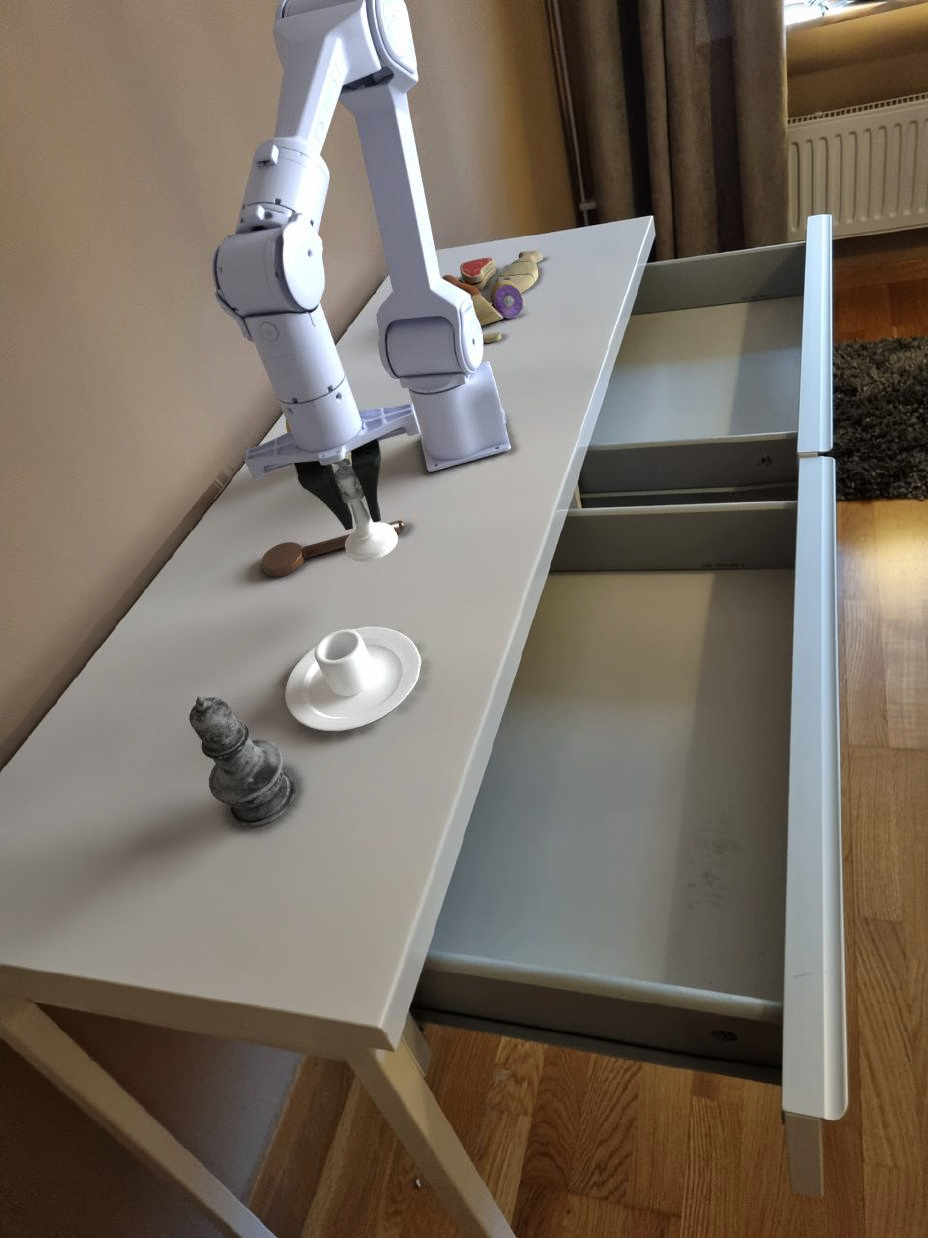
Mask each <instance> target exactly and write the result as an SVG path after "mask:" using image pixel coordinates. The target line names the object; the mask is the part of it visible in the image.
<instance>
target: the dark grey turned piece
mask: <svg viewBox="0 0 928 1238" xmlns="http://www.w3.org/2000/svg"><path fill="white" fill-rule="evenodd" d="M188 720H189V723H190V726H191V727H192V729H193V730H194V732H195V733H196V735H197V736H198V738H199V739H200V741H201V746H200V749H201V751H202V754H203V755H204V756H205V757H207V758H209V759H211V760H212V761H213V762H214V765H213V766H212V768H211V770H210V772H209V773H210V774H209V777H208V788H209V791H210V794H211V795H212V796H213V797H214V798H215V799H216V800H217V801H219V802H221V803H223V804H226V805H228V806H229V807H230V813H231V815H232V818H233V819H234V820H235V821H236V822H237V823H238V824H240V825H242V826H244V827H249V828H256V827H262V826H265V825H268V824H270V823H272V822H274V821H276V820H278V819H279V818H280V817H281V816H282V815H284V814H285V813H286V811H287V810H288V809H289V808H290V806H291V805H292V803H293V801H294V799H295V794H296V783H295V781H294V779H293V778H292V776H291V775H290V773H288V772H286V771H284V758H283V757H284V756H283V754H282V751H281V749H280V748H279V746H277V745H276V744H275V743H274V742H271V741H269V740H264V739H251V737H250V729H249V726H248V725H247V724H246V723H245V721H242V720H240V719H237V717H236V715H235V714H234V712H233V710H232V709H231V707H230V706H229V704H228V703H227V702H226V701H225V700H224V699H223V698H222V697H221V698H220V697H217V696H209V697H205V696H197V698H196V701H195V704H194V705H193V707H192V708H191V709H190V712H189V716H188Z"/></svg>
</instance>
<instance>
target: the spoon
mask: <svg viewBox="0 0 928 1238" xmlns="http://www.w3.org/2000/svg"><path fill="white" fill-rule="evenodd" d="M386 524H389V525H391V526H392V527H393V528H394V530H395V532H396V533H397V534H399V533H402V532H404V531H405V529H406V523H405V522H404V521H403V520H400V519H399V520H395V521H392V522H388V523H386ZM350 534H351V533H348V534H345V535H344V534H343V535H341V536H337V537H334V538H329V539H326V540H322V541H319V542H315V543H312V544H308V545H305V546H303V547H302V545H301V544H299V543H297V542H293V541H286V542H282V543H279V544H276V545H274V546H273V547H271V548H270V549H268V550H267V551H266V552H265V553H264V555H263V556H262V558H261V566H262V568H263V570H264V572H265V573H266V574H267V575H268V576H271V577H274V578H281V577H285V576H288V575H290V574H293V573H294V572H296V571H297V570H298V569H300V568H301V567H302V566H303V564H304V563H305V560H306V559H308V558H312V557H316V556H319V555H323V554H326V553H330V552H334V551H337V550H341V549H344V548H345V542H346V539H347V538H348V536H349V535H350Z"/></svg>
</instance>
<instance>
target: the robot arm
mask: <svg viewBox="0 0 928 1238" xmlns="http://www.w3.org/2000/svg"><path fill="white" fill-rule="evenodd" d="M409 17H410V16H409V12H408V8H407V5H406V3H405V1H404V0H279V2H278V4H277V5H276V10H275V14H274V21H273V28H272V36H273V40H274V45H275V49H276V52H277V55H278V58H279V62H280V64H281V66H282V69H283V71H282V76H281V77H282V78H281V83H280V91H279V98H278V105H277V111H276V112H277V113H276V120H275V127H274V135H273V138H270V139H267V140H265V141H263V142H261V143H260V144H259V145H258V146H257V148H255V151H254V154H253V158H252V163H251V166H250V170H249V175H248V178H247V182H246V187H245V189H244V190H245V191H244V194H243V198H242V202H241V207H240V211H239V215H238V218H237V219H238V220H237V223H236V226H235V231H234V233H233V234H229V235H227V237H224V238H223V240H222V241H221V243H220V244H219V245H218V246H217V247H216V249H215V251H214V253H213V256H212V262H211V271H212V272H211V273H212V280H213V283H214V287H215V292H214V297H215V298H216V301H217V302H218V304H219V306H220V307H221V309H222V310H223V311H224V312H225V313H226V314H227V315H228V316H229V317H231V318H232V319H234V320H235V322H236V323H237V325H238V327H239V329H240V331H241V333H242V335H243V338H246V340H247V341H248V342H251V343H253V344H254V346H255V349H256V350H257V353H258V355H259V358H260V360H261V363H262V366H263V367H264V370H265V372H266V376H267V377H268V379H269V382H270V384H271V387H272V390H273V391H274V394H275V396H276V399H277V401H278V404H279V406H280V408H281V411H282V413H283V416H284V418H285V421H286V420H287V423H288V425H289V428H290V430H291V431H290V432H288V433H287V432H286V433H284V434H282V435H279V436H277V437H275V438H273V439H271V440H269V441H267V442H264V443H261V444H259V445H256V446H254V447H251V448H248V449H246V450H245V458H244V463H245V465H246V467H247V470H248V471H249V473H250V475H251V478H252V480H253V481H257V480H261V479H264V478H266V476H267V473H271V472H274V471H275V472H276V471H278V470H281V469H285V468H289V467H292V466H294V467H295V470H296V471H295V472H296V473H297V481H298V483H299V484H300V486H301V487H302V489H304V490H306V491H307V492H309V493H310V494H312V495H313V496H314V497H316V498H317V499H319V501H320V502H322V503H323V504H324V505H325V506H326V507H327V508H328V509H329V510H330V511H331V512H332V514H334V516H335V517H336V518H337V520H338V521H339V522H340V524H341V525H342V527H343V528H344V530H345V531H350V530H353V529H354V523H353V515H352V514H353V513H352V511H351V509H350V506H349V504H347V503H344V502H343V501H342V494H343V493H344V492H343V491H342V489H341V486H340V484H339V483H337V481H336V480H335V479H334V473H335V471H334V467H333V464H332V463H336V462H339V461H342V460H343V459H346V454H348V453H350V460H351V461H350V463H351V466H352V468H353V471H354V473H355V475H356V480H357V482H358V483H359V485H360V487H361V488H362V490H363V492H364V495H365V496H364V498H365V501H366V505H367V508H368V513H369V516H370V518H371V520H372V521H373V523H375V522H381V521H382V517H381V509H380V506H379V501H378V488H379V487H378V486H379V477H380V472H381V471H380V470H381V467H382V466H381V464H382V452H381V447H380V445H381V444H380V441H384V440H387V439H390V438H394V437H397V436H400V435H404V434H405V435H407V436H408V437H412V436H417V435H419V434H420V433H421V435H420V441H421V446H422V451H423V455H424V461H425V465H426V466H425V467H426V469H427V471H428V472H430V473H431V472H436V471H440V470H443V469H447V468H450V467H451V468H452V467H453V466H457V465H461V464H465V463H468V462H472V461H476V460H479V459H483V458H486V457H490V456H493V455H497V454H500V453H504V452H508V451H509V450H511V448H512V446H511V443H510V439H509V435H508V430H507V426H506V424H507V417H506V413H505V410H504V407H503V406H502V403H501V399H500V394H499V390H498V387H497V383H496V379H495V376H494V373H493V369H492V367H491V366H492V365H491V363H490V361H488V360H485V361H482V360H483V356H484V343H483V335H482V334H483V330H482V326H480V323H479V321H478V319H477V317H476V314H475V311H474V307H473V302H472V300H471V297H470V295H469V294H468V293H467V292H465V291H464V290H462V289H460V288H458V287H456V286H454V285H452V284H451V283H449V282H447V281H445V280H444V279H442V276H441V273H440V269H439V262H438V258H437V252H436V248H435V247H436V246H435V242H434V237H433V236H434V235H433V231H432V226H431V221H430V215H429V210H428V204H427V198H426V194H425V187H424V184H423V179H422V174H421V173H422V172H421V168H420V163H419V157H418V151H417V146H416V141H415V135H414V130H413V125H412V119H411V114H410V113H411V112H410V107H409V102H408V96H407V93H408V91H410V90H411V89H412V88H413V87H414V86H415V85H417V83H418V82H419V73H418V70H417V68H418V63H417V57H416V52H415V45H414V41H413V33H412V28H411V23H410V18H409ZM337 103H340V104H341V105H342V106H343V107H344V108H345V109H347V111H348V112H349V113H350V114H351V115H353V117H354V120H355V124H356V130H357V133H358V138H359V142H360V148H361V152H362V157H363V161H364V166H365V170H366V175H367V179H368V184H369V189H370V193H371V197H372V202H373V206H374V211H375V216H376V220H377V226H378V230H379V234H380V239H381V242H382V248H383V253H384V257H385V262H386V266H387V270H388V275H389V280H390V284H391V289H392V292H391V293H390V294H389V295H388V296H387V298H386V299H385V300H384V301H383V302H382V304H381V305H380V307H378V311H377V312H376V315H375V316H376V324H377V330H378V353H379V358H380V362H381V365H382V367H383V368H384V370H385V371H386V373H387V374H388V375H389V376H390V377H391V378H392V379H394V380H399V383H400V386H401V388H402V389H408V392H409V396H410V399H411V402H408V403H405V404H400V405H394V406H387V407H377V408H369V409H368V408H367V409H358V406H357V404H356V401H355V398H354V395H353V393H352V389H351V387H350V384H349V381H348V379H347V375H346V373H345V370H344V367H343V363H342V362H341V359H340V355H339V353H338V349H337V348H336V345H335V341H334V338H333V335H332V333H331V329H330V326H329V325H328V322H327V318H326V316H325V312H324V310H323V307H322V303H321V300H322V296H323V293H324V291H325V285H326V284H325V283H326V278H325V277H326V276H325V267H324V261H323V250H324V246H323V240H322V238H321V236H320V235H319V230H320V225H321V222H322V217H323V213H324V207H325V204H326V203H325V202H326V198H327V194H328V189H329V184H330V178H331V177H330V170H329V168H328V166H327V164H326V162H325V160H324V159H323V157H322V156H321V153H322V149H323V147H324V143H325V141H326V137H327V134H328V131H329V127H330V125H331V122H332V119H333V115H334V113H335V109H336V106H337Z"/></svg>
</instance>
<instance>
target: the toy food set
mask: <svg viewBox="0 0 928 1238" xmlns="http://www.w3.org/2000/svg"><path fill="white" fill-rule="evenodd" d="M543 259H544V258H543V253H542V251H540V250H528V251H520V252H519V253H518V258H517V259H516V260H514V261H513V262H511V263H510V264H509V265H507V267H505V268H504V269H503V270H502V271H501V272H500V273H499V274H498V276H497V277H496V279H495V282H494V284H493V285H492V286H491V289H490V292H489V299H490V302H489V301H488V300H487V299H486V298H485V297H484V296H483V295H482V294H481V292H480V291H482V290H483V289H485V287H486V284H487V282H489V280H490V279H491V278H492V277H493V276H495V274H496V273H497V268H496V264H495V263H496V262H495V258H493V257H481V258H476V259H472V260H467V261H465V262H462V263H460V266H459V270H460V275H461V279H462V282H461V281H459V280H458V278H456V277H455V276H454V275H451V274H445V275H443V276H441V278H442V279H444V280H445V281H447V282H449V283H451V284H452V285H454V286H456V287H458V288H460V289H462V290H464V291H465V292H467V293H468V294H469V295H470V297H471V300H472V302H473V307H474V311H475V314H476V317H477V319H478V321H479V323H480V326H481V327H483V326H486V325H489V324H493V323H494V322H498V321H501V320H503V319H504V318H505V319H515V318H517V317H518V316H520V314H521V313H522V311H523V308H524V304H525V303H524V302H525V301H524V297H523V294H522V293H524V292H526V291H527V290H528V289H530V288H531V287H532V286H533V285H535V283H536V282H537V280H538V278H539V268H538V264H537V263H540V262H541V261H542V260H543ZM482 335H483V344H487V343H495V342H498V341H500V340H501V339H502V333H500V332H497V331H496V332H488V333H482Z"/></svg>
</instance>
